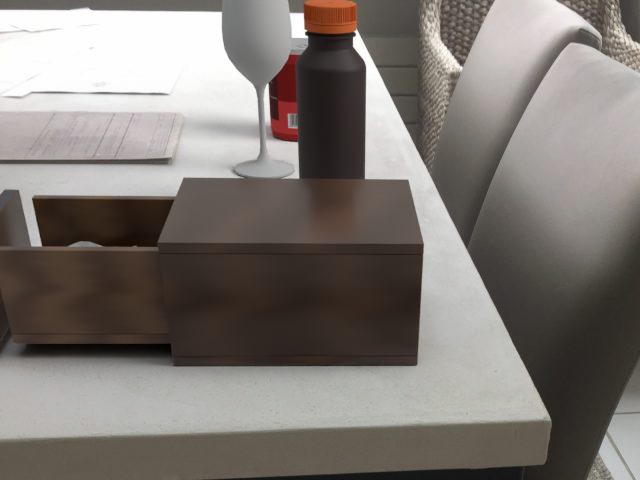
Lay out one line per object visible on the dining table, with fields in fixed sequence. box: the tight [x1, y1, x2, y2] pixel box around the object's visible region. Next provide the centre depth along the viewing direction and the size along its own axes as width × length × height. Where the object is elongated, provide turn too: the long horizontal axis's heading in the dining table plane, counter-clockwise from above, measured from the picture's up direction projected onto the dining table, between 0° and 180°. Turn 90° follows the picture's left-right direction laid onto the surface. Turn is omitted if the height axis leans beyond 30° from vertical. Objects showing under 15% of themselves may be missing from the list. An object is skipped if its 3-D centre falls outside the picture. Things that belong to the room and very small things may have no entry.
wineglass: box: [221, 0, 295, 178], centre depth 101 cm, size 8×8×21 cm
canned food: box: [267, 37, 308, 142], centre depth 117 cm, size 8×8×11 cm
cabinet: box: [157, 176, 425, 367], centre depth 71 cm, size 19×15×10 cm
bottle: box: [296, 0, 367, 179], centre depth 88 cm, size 7×7×20 cm
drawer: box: [0, 189, 176, 345], centre depth 70 cm, size 24×13×8 cm, turn 93°
